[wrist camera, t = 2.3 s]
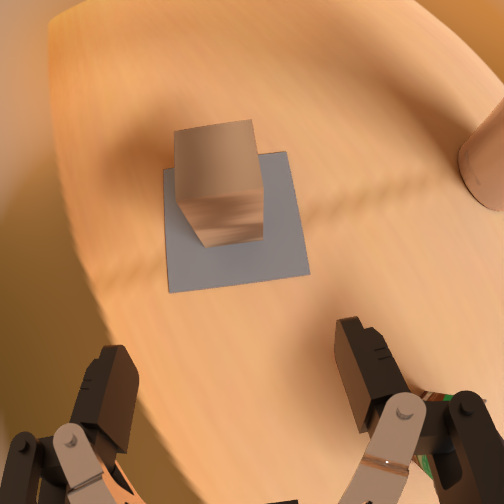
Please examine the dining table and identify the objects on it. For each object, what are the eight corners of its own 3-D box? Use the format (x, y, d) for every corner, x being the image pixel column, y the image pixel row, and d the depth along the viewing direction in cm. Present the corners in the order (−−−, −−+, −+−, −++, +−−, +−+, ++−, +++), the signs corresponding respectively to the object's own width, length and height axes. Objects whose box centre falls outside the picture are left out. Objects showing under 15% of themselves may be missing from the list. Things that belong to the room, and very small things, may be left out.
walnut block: (255, 187, 28) (251, 119, 19) (263, 240, 27) (263, 188, 17) (200, 195, 28) (174, 131, 19) (205, 248, 27) (175, 201, 17)
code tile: (286, 152, 29) (286, 151, 29) (310, 274, 26) (310, 274, 26) (163, 170, 29) (163, 169, 29) (169, 293, 26) (169, 293, 26)
